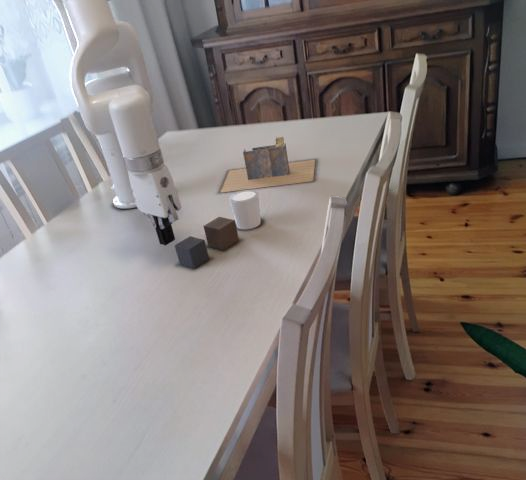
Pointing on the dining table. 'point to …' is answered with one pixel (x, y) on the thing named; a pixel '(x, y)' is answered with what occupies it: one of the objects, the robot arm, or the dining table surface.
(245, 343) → the dining table surface
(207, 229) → the walnut block
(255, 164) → the ruin model on sheet
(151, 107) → the robot arm
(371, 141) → the dining table surface
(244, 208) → the white cylinder
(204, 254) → the charcoal block
